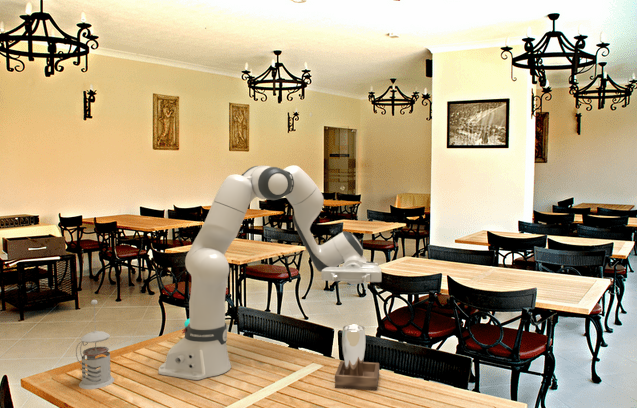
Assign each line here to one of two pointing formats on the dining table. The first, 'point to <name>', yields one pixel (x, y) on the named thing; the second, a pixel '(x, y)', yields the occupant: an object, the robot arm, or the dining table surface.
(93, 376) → the french press
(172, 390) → the dining table surface
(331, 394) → the dining table surface
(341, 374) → the walnut tray
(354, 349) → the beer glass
